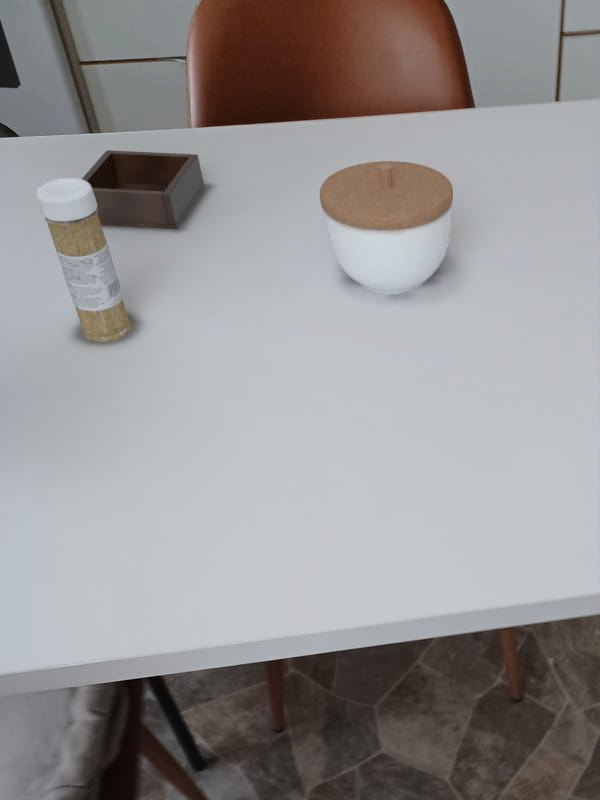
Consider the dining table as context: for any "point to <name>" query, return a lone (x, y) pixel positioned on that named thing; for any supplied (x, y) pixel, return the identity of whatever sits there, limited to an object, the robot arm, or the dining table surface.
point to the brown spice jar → (84, 257)
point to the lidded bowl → (388, 223)
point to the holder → (145, 188)
